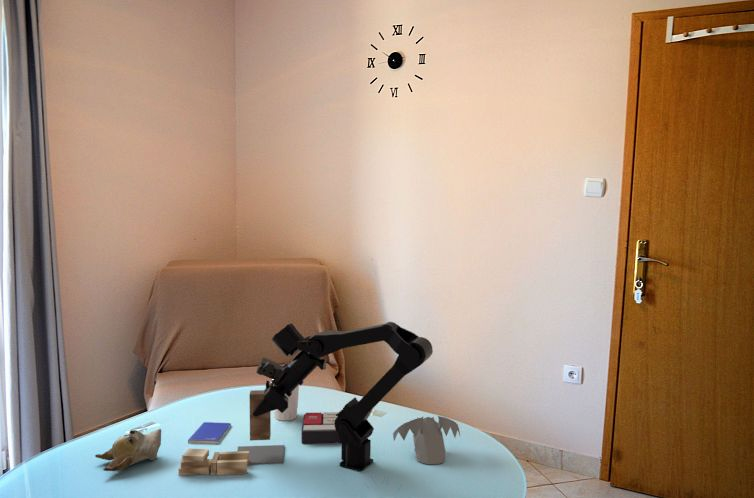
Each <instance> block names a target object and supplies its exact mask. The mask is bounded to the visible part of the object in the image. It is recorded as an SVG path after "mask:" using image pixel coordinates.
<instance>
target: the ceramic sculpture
mask: <svg viewBox="0 0 754 498" xmlns="http://www.w3.org/2000/svg"><path fill="white" fill-rule="evenodd" d="M161 442H162V429H161V428H158V429H155V430H153V431H150V432H148V433H146V434H144V433H143V432H141V430H137V429H131V430H130V431H129V434H125V435H123V436H122V435H121V436H119V437H118V438H117V439H116V440H114V442H113V444H112V448H110V449H109V450H107V451H105V452H103V453H99V454H97V453H96V454H94V456H95V458H97V459H101V460H105V461H110V462H109V464H108V465H107V466H105V468H104V467H103V469H102V471H105V472H119V471H122V470H123V469H125V468H127V467H129V466H130V467H131V466H132V465H135V464H137V463H138V462H142V461H143V460H146V459H149V460H151V461H155V460H156V459H157V457H158V453H159V449H160V447H161V444H162V443H161Z"/></svg>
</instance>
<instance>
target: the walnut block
mask: <svg viewBox="0 0 754 498" xmlns="http://www.w3.org/2000/svg"><path fill="white" fill-rule="evenodd" d="M264 390H265V389H257V390H250V391H249V441H270V440H271V435H272V434H271V433H272V432H271V431H272V430H271V428H272V427H271V425H272V424H271V420H272V419H271V415H272V414H271V411H270V412H267V413H265V414H262V415H259V416H257V417H255V416H254V415H253V413H254V411H255V410H256V408H257V407H258V406H259V404H260V403H261V401H262V400H263V399H264Z"/></svg>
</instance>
